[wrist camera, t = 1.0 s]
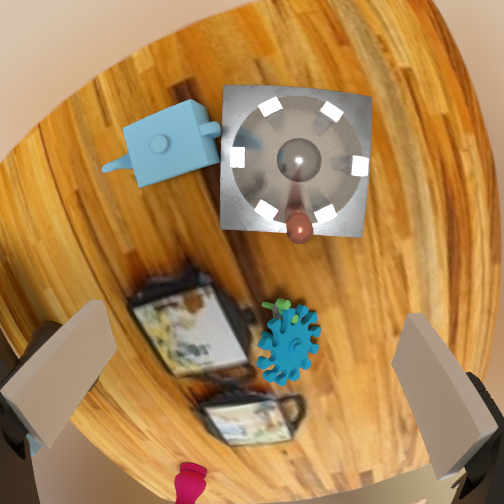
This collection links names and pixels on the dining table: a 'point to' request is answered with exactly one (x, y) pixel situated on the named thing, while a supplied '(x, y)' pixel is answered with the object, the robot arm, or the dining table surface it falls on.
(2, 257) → the dining table surface
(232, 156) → the grey rounded piece
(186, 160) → the teapot
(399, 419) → the dining table surface
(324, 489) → the dining table surface
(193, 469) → the pepper mill
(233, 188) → the base plate
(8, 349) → the robot arm
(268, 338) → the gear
